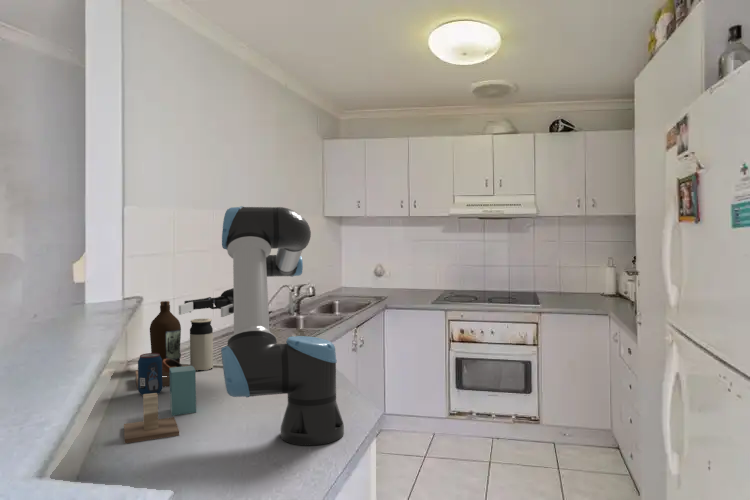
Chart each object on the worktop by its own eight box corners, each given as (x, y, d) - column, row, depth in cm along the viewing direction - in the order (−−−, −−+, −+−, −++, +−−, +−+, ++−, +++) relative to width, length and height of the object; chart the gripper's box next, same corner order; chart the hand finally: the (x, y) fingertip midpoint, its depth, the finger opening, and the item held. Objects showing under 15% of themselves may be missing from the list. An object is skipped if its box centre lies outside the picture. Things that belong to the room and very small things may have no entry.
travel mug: (204, 372, 199) (203, 321, 199) (185, 370, 202) (184, 320, 201) (217, 367, 206) (216, 318, 206) (199, 365, 209) (199, 317, 209)
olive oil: (143, 371, 200) (142, 302, 200) (166, 365, 210) (165, 299, 209) (165, 374, 196) (164, 303, 195) (187, 368, 205) (186, 300, 205)
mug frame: (193, 383, 183) (193, 374, 183) (137, 389, 176) (137, 380, 176) (188, 373, 197) (187, 365, 197) (135, 379, 190) (135, 370, 189)
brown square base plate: (179, 435, 134) (178, 398, 134) (124, 443, 129) (124, 405, 129) (174, 420, 145) (173, 386, 145) (123, 427, 140) (123, 392, 140)
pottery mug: (165, 377, 194) (176, 357, 194) (179, 393, 189) (191, 372, 188) (135, 375, 184) (147, 354, 184) (149, 392, 179) (161, 370, 178)
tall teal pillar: (196, 412, 152) (195, 370, 152) (172, 415, 150) (171, 372, 149) (193, 406, 158) (192, 365, 158) (170, 409, 155) (169, 367, 155)
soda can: (149, 389, 176) (149, 351, 176) (167, 391, 174) (166, 353, 173) (133, 395, 170) (132, 356, 169) (151, 397, 167) (150, 357, 167)
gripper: (270, 312, 180) (240, 326, 159) (201, 309, 186) (163, 321, 165) (270, 289, 179) (239, 300, 159) (200, 286, 185) (162, 296, 164)
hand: (200, 311), depth 162 cm, fingers open, 13 cm apart
